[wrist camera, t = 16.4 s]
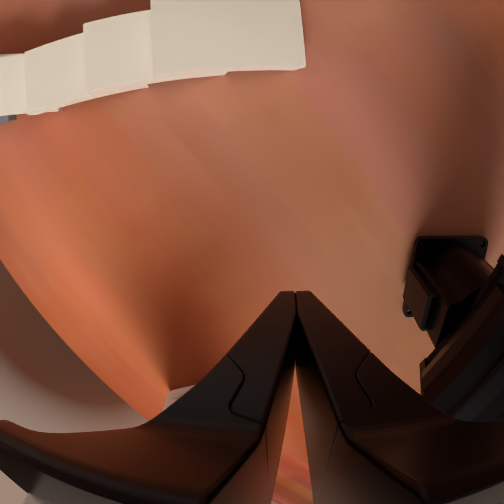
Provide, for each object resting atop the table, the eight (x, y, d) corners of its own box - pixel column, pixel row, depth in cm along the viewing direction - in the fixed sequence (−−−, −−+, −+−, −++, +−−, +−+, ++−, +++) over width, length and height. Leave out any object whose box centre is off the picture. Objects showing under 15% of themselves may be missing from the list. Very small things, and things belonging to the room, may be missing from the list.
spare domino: (67, 49, 15) (-28, 62, 12) (58, 111, 17) (-34, 120, 14) (71, 53, 16) (-19, 64, 13) (63, 111, 18) (-26, 119, 15)
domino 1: (299, -2, 13) (150, -1, 11) (306, 66, 15) (154, 74, 13) (288, 6, 15) (150, 9, 13) (294, 70, 16) (154, 79, 15)
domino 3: (143, 19, 14) (24, 52, 13) (147, 84, 16) (27, 114, 15) (145, 26, 16) (33, 55, 14) (149, 87, 17) (37, 114, 16)
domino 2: (223, 3, 14) (83, 23, 12) (228, 71, 16) (85, 93, 14) (219, 11, 15) (89, 30, 14) (224, 75, 17) (92, 95, 15)
